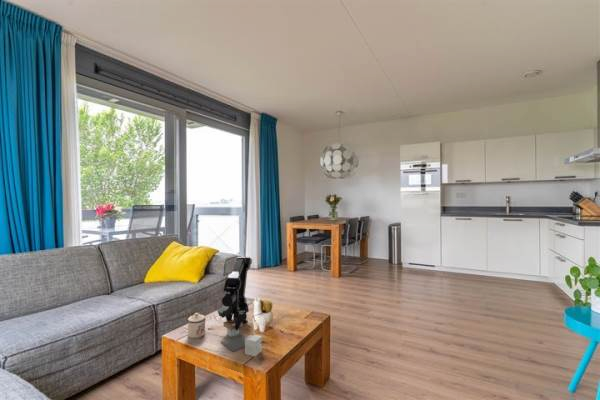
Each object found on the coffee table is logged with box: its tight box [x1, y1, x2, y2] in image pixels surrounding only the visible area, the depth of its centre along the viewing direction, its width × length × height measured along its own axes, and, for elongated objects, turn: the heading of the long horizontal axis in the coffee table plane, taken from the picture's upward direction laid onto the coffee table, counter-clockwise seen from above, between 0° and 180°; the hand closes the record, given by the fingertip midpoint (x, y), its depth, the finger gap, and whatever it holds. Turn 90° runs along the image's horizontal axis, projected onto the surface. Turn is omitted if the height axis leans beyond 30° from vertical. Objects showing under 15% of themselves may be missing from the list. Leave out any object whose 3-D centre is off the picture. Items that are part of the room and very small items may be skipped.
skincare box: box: [244, 333, 263, 357], centre depth 141 cm, size 6×6×7 cm
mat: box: [220, 333, 247, 352], centre depth 150 cm, size 12×12×1 cm
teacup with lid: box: [187, 312, 206, 339], centre depth 161 cm, size 12×9×12 cm
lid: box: [223, 318, 244, 331], centre depth 161 cm, size 8×8×3 cm
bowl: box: [226, 328, 240, 337], centre depth 161 cm, size 6×6×4 cm
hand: (233, 327), depth 161 cm, fingers open, 8 cm apart
